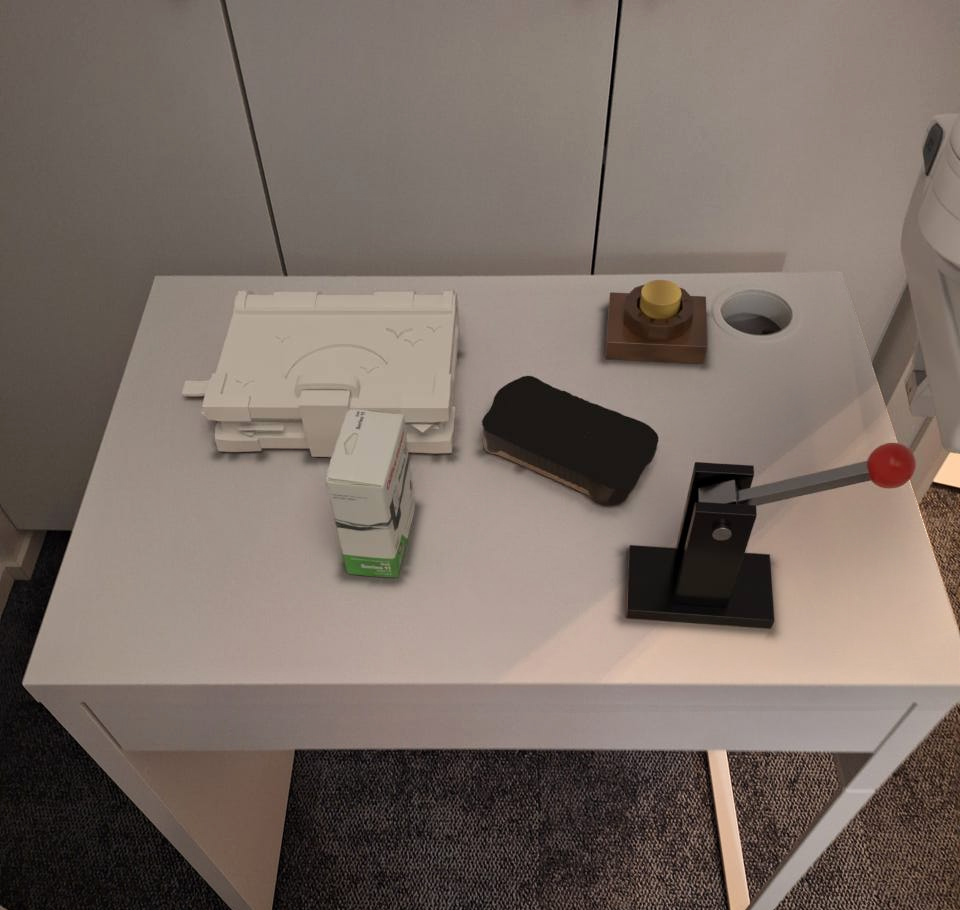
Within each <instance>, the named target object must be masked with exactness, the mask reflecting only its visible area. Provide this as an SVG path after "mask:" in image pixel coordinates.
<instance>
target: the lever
mask: <svg viewBox="0 0 960 910" xmlns="http://www.w3.org/2000/svg"><path fill="white" fill-rule="evenodd" d="M916 461H917V460H916V457H915V454H914V453H913V451H912V450H911V449H910V448H909V447H908V446H906V445H905V444H902V443H899V442H886V443H883V444H881V445H878V446H877V447H875V449H873V451H872V452H871V453H870V454H869V456H868V457H867V460H865V461H860V462H855V463H852V464H848V465H843V466H838V467H834V468H830V469H824V470H821V471H816V472H812V473H808V474H804V475H799V476H796V477H791V478H786V479H782V480H778V481H774V482H769V483H764V484H761V485H755V486H751V487H750V488H747V489H742V490H739V489H738V486H737V484H736V481H735V480H730V481H726V482H721V483H717V484H713V485H709V486H704V487H700V488H699V489H698V494H699V502H709V503H725V504H741V505H756V507H758V506H763V505H766V504H771V503H777V502H781V501H786V500H791V499H794V498H799V497H803V496H808V495H813V494H816V493H821V492H826V491H831V490H836V489H840V488H843V487H848V486H853V485H857V484H861V483H867V482H871V483H873V484H874V485H875V486H877V487H879V488H882V489H887V490H893V489H897V488H900V487H902V486H904V485H905V484H907V483H908V482H909V481H910V480H911V479H912V477H913V476H914V474H915V472H916V466H917V462H916Z"/></svg>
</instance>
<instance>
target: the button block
mask: <svg viewBox="0 0 960 910" xmlns="http://www.w3.org/2000/svg"><path fill="white" fill-rule="evenodd" d="M644 285H645V284H640V285H639V286H635V287H634V288H633V289H632V290H631V291H630V292H614V291H613V292H609V299H608V311H607V326H606V341H605V360H613V361H637V362H638V361H639V362H654V363H655V362H656V363H675V364H695V365H696V364H698V365H704V364H705V360H706V356H707V351H708V319H707V317H708V316H707V296H705V295H704V296H703V295H690V293H688V291H687V290H686V289H684V288H682V287H680V286H678V287H679V288H680V289H681V293H682V295H681V301H680V307H679V310H678V312H677V313H676V314H675V315H674V316H672V317H670V318H667V319H658V318H651V317H649V316H647V315H645V314H644V313H643V312H642V311H641V309H640V298H641V290H642V288H643V286H644Z"/></svg>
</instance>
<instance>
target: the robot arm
mask: <svg viewBox="0 0 960 910" xmlns="http://www.w3.org/2000/svg"><path fill="white" fill-rule="evenodd" d="M921 153H922V158H923V162H922V164H921V165H920V169H919V171H918V175H917V177H916V181H915V183H914V186H913V190H912V192H911V196H910V199H909V202H908V206H907V208H906V212H905V216H904V219H903V224H902V230H901V237H900V253H901V257H902V261H903V266H904V271H905V277H906V280H907V286H908V290H909V296H910V300H911V305H912V309H913V314H914V319H915V324H916V328H917V330H916V334H915V340H914V346H913V352H912V359H911V364H910V368H909V370H908V371H907V373H906V376H905V379H904V387H905V392H906V396H907V401H908V409H909V413H910V415H911V416H912V417H918V418H919V417H920V418H933V417H935V419H936V425H937V428H938V433H939V437H940V438H939V439H940V444H941V447H942V448H943V449H944V451H946V452H948V453H950V454H951V453H952V454H959V455H960V112H959V113H958V112H957V113H936V114H934V115H933V116H932V117H931V119H930V121H929V122H928V125H927V128H926V131H925V134H924V137H923V139H922V143H921Z"/></svg>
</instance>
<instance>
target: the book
mask: <svg viewBox="0 0 960 910" xmlns="http://www.w3.org/2000/svg"><path fill="white" fill-rule="evenodd" d="M459 311H460V310H459V299H458V293H456V291H455V289H444V290H443V291H442V293H417V291H416V290H376V291H374V293H323V292H322V291H321V290H276V291H274V293H254V291H253V290H252V289H241V290H238V293H237V294H236V295H235V298H234V302H233V312H232V316H231V319H230V322H229V325H228V330H227V333H226V336H225V340H224V343H223V347H222V350H221V353H220V357H219V360H218V363H217V367H216V371H215V372H212V374H211V376H210V378H209V379H208V380H185V382H184V384H183V388H182V391H181V396H182V397H203V400H202V401H203V402H202V406H201V408H202V411H201V412H200V414H201V415H203V416H205V418H206V420H208V421H216V424H215V430H214V443H215V445H216V447H217V451H218V452H227V453H228V452H229V453H243V452H262V450H263V449H309V452H310V456H311V457H313V458H319V457H320V458H331V457H332V455H333V453H334V450H335V445H336V442H337V440H338V437H339V435H340V432H341V427H342V425H343V422H344V420H345V416H346V413H347V412H348V411H349V410H350V409H351V408H353V407H354V408H362V409H373V410H381V411H389V412H395V413H401V414H404V417H405V426H406V435H407V443H408V453H419V454H436V455H437V454H452V453H453V447H454V437H455V436H454V432H455V416H456V405H454V402H455V401H454V400H455V387H456V375H457V364H458V352H459V344H460V319H459V318H460V314H459V313H460V312H459Z"/></svg>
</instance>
